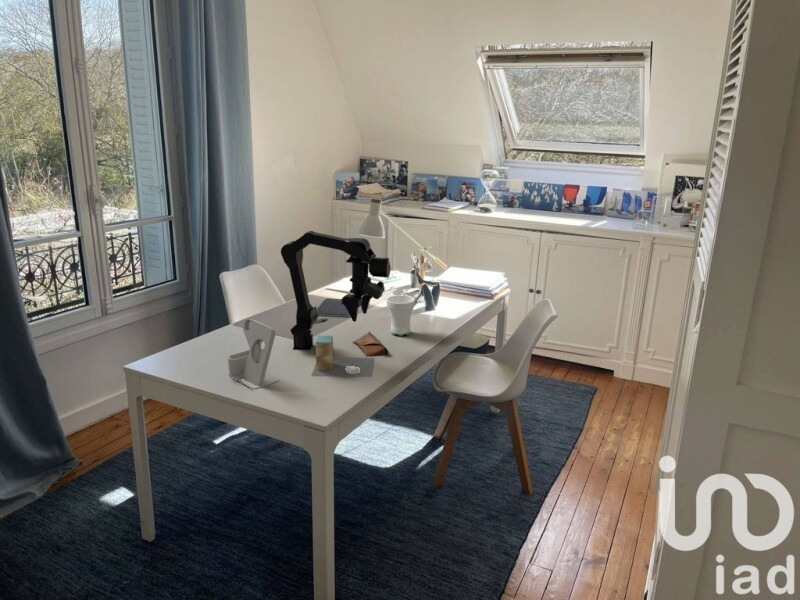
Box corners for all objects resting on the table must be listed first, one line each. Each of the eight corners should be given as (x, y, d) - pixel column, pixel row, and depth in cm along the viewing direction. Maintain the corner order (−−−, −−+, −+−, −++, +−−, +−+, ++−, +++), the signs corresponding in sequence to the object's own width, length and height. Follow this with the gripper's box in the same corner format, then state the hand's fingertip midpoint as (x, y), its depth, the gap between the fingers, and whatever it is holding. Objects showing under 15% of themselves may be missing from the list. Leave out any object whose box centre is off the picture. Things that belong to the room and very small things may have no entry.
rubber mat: (311, 377, 199) (311, 375, 199) (318, 358, 214) (318, 357, 214) (372, 377, 199) (372, 376, 199) (374, 358, 214) (374, 357, 214)
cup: (413, 328, 244) (414, 295, 240) (415, 338, 234) (416, 303, 229) (386, 328, 244) (386, 295, 240) (386, 338, 233) (386, 303, 229)
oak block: (316, 369, 204) (315, 342, 201) (318, 362, 209) (318, 335, 206) (331, 370, 204) (330, 342, 201) (333, 362, 209) (332, 335, 206)
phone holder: (225, 374, 201) (221, 322, 195) (252, 365, 207) (249, 316, 202) (253, 391, 189) (250, 337, 183) (281, 381, 195) (278, 329, 190)
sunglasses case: (350, 341, 230) (358, 326, 229) (365, 348, 233) (373, 333, 233) (366, 358, 214) (375, 342, 214) (382, 365, 217) (391, 349, 217)
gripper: (371, 284, 200) (370, 329, 205) (391, 271, 217) (390, 312, 221) (340, 280, 203) (340, 324, 208) (362, 268, 220) (361, 308, 225)
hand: (359, 317), depth 215 cm, fingers open, 9 cm apart
